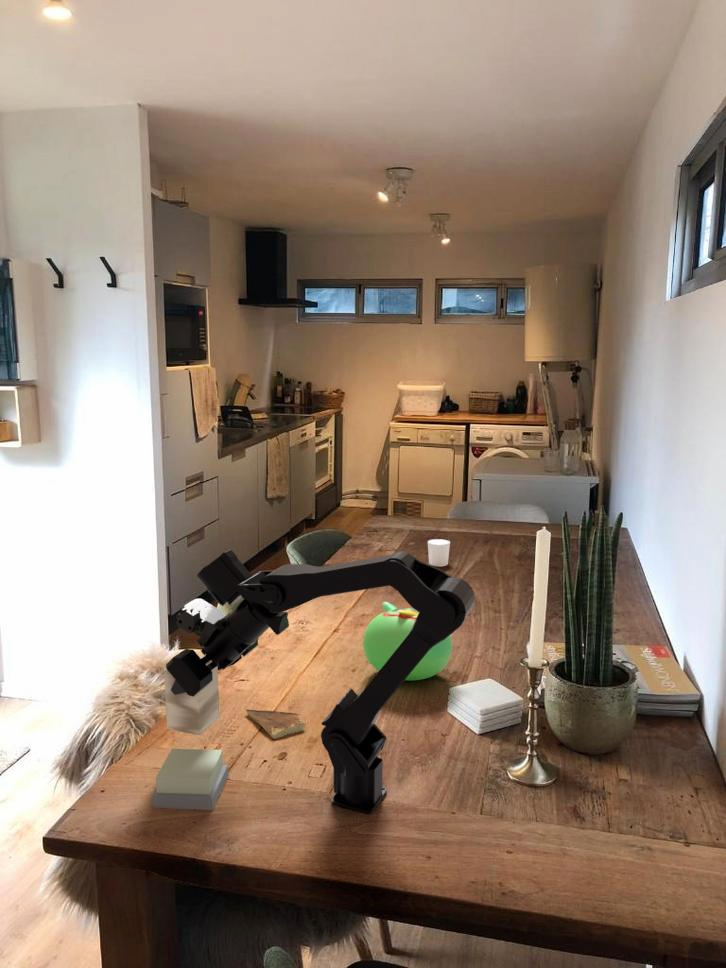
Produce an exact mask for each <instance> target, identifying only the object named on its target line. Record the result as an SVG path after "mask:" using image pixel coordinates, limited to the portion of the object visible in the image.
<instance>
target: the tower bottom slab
mask: <svg viewBox="0 0 726 968" xmlns="http://www.w3.org/2000/svg"><path fill="white" fill-rule="evenodd" d="M228 779H229V764H223V766H222V768H221V771H220V773H219V775H218V778H217V780H216V782H215V785H214V787H213V790H212V792H211V794H179V793H157V789H156V788H155V790H154V791H153V793H152V795H151V802H152V808H159V809H174V810H175V809H176V810H178V809H179V810H193V809H197V810H196V811H211V810H213V811H214V809H215V807H216V804H217V802H218V800H217V799H219V798H220V796H221V794H220V792H221V793H222V791H223V789H224V787H225V785H226V783H225V782H227V781H228ZM224 784H225V785H224ZM223 786H224V787H223ZM222 788H223V789H222ZM221 790H222V791H221ZM219 795H220V796H219ZM218 797H219V798H218ZM216 801H217V802H216ZM214 806H215V807H214ZM198 809H200V810H198ZM201 809H202V810H201Z"/></svg>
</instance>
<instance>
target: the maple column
mask: <svg viewBox="0 0 726 968" xmlns="http://www.w3.org/2000/svg"><path fill="white" fill-rule="evenodd" d="M199 657H200V656H199ZM200 658H202V657H200ZM211 662H212V661H210V662H209V663H207V664H206V665H208V664H210V663H211ZM212 677H213V680H212V681H211V682H210V684H208V685H207V686H206V687H205V688H204V689H202V690H201V691H200V692H199V693H197V694H196V695H195V696H194V697H192V696H189V695H188V694H187V693H186V692H185V693H181V694H177V695H174V694H173V692H172V691H171V688H172V686H173V684H174V681H175V679H174V677H173V676H172V675H171V674H170V673H169V671H168V670H167V669H166V668H164V669H163V678H164V679H163V681H164V696H165V697H164V698H165V699H164V700H165V713H166V717H165V718H166V728H167V730H170V731H175V732H181V733H186V734H191V735H196V736H201V735H202V734H203V733H204V732H206V731H207V730H208V729H209V728H210V727H212V726H213V724H215V723H216V722H217V721H218V720H219V719H221V710H220V693H219V692H220V690H219V670H218V666H217V667H215V668H214V669H213V670H212Z"/></svg>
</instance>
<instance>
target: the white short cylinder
mask: <svg viewBox="0 0 726 968" xmlns="http://www.w3.org/2000/svg"><path fill="white" fill-rule="evenodd" d="M450 547H451V541H450V540H447V539H440V538H434V539H429V540H427V550H428V551H427V554H428V564H429V565H431V566H434V567H440V568H441V567H445V566H448V563H449V556H450Z"/></svg>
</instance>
